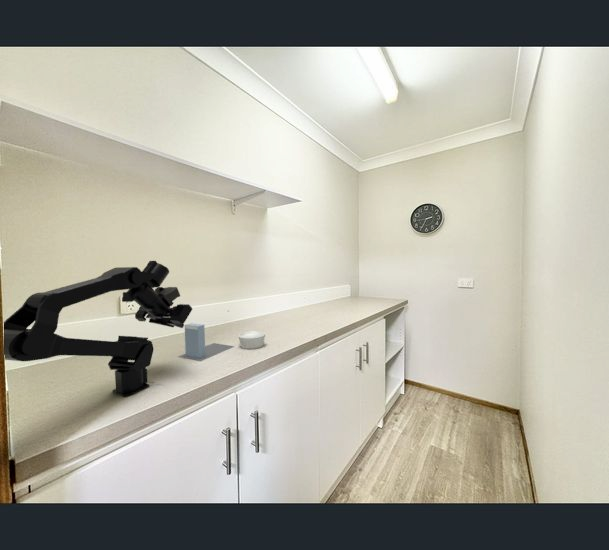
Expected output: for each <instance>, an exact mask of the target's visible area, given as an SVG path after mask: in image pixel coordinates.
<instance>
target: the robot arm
mask: <svg viewBox="0 0 609 550" xmlns="http://www.w3.org/2000/svg"><path fill="white" fill-rule="evenodd" d="M169 274H170V270H169V268H168V267H167V266H165V265H164V264H162V263H159V262H157V261H156V260H149V261H148V262H147V265H146V266H145V267H144V269H143V270H141V269H139V267H137V266H131V267H130V266H126V267H125V266H124V267H121V266H120V267H113V268H111V269H109V270H107V271H105V272H103V273H102V274H101V275H99V276H97V277H95V278H91V279H88V280H87V279H86V280H83V281H79V282H76V283H73V284H69V285H66V286H62V287H59V288H58V287H57V288H54V289H51V290H48V291H43V292H35V293H32V295H30V296H28V297H27V298H26V300H25V301H24V303H23V304H22V306H21V307H19V309H17V310H16V311H15V312H14V313H12V314H11V315H10V316H9V317H8V318H6V319H5V321H3V323H4V355H5V361H15V362H32V361H38V360H39V361H40V360H46V359H50V358H54V357H58V356H76V357H77V356H78V357H79V356H82V357H85V356H86V357H111V358H110V360H109V362H108V363H107V366H108V367H109V370H111V371H113V370H115V371H114V376H115V378H114V379H115V381H114V382H115V383H114V384H115V388H114V389H112V393H113V394H116V395H119V396H122V397H128V396H131V395H133V394H135V393H137V392H140V391H142V390H144V389H147V388H149V387H150V383H148V367H149V366H151V361H152V358H153V354H154V344H153V341H152V340H149V337H143V336H142V337H140V336H139V337H138V336H130V335H118V338H117V340H115V341H111V340H108V341H107V340H99V339H85V338H83V339H82V338H71V337H65V336H62V335H59V334H57V333H55V332H56V331H57V329H58V323H59V316H60V313H61V312H62V310H63V309H64V308H66V307H67V308H68V307H70V306H72V305H76V304H78V303H81V302H84V301H87V300H90V299H93V298H95V297H98V296H101V295H105V294H106V293H107V294H108V293H110V292H117V291H123V292H122V297H121V302H123V303H125V302H126V303H128V302H135V303H136V304H137V305H139V308H138V310H137V311H136V312H135V313H134V315H135V317H134V319H136V320H137V321H138V322H146V321H147V319H149V320H148V323H150V324H155V325H159V326H160V325H161V326H164V327H169V328H175V327H177V328H180V329H183V328H185V322H186V321H187V319H188V318H189V316H190V314H191V313H192V311H193V307H192V306H191V305H190V304H188V303H187V304H186V303H180V304H176V305H175V306H173V305H174V302H173V301H175V300H176V299H177V298H179V297H181V293H180V291H179V289H178V287H177V286H167V287H162V284H163V282H164V281H165V280H166V278H167V277H168V275H169ZM154 288H155V289H154ZM124 290H127V291H124ZM32 324H33V325H32ZM31 325H32V326H31ZM30 326H31V328H28V327H30ZM1 354H2V352H1Z"/></svg>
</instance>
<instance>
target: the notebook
mask: <svg viewBox="0 0 609 550" xmlns="http://www.w3.org/2000/svg"><path fill="white" fill-rule="evenodd" d="M205 330H206V329H205V324H201V323H193V322H191V323H186V324H184V342H185V345H184V346H185V347H184V348H185V349H184V350H185V354H186V356H187V357H192V358H197V359H200V358H202V357H205V346H206V334H205Z"/></svg>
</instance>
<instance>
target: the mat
mask: <svg viewBox="0 0 609 550" xmlns="http://www.w3.org/2000/svg"><path fill="white" fill-rule="evenodd" d="M232 348H235V345H227V344H224V343H223V344H222V343H216V342H215V343H214V342H213V343H211V344H207V345H205V357H202V358H200V359H197V358H192V357H187V356H186V353H183V354H181V355H179V356H177V358H182V359H186V360H192V361H197V362H203V361H204V360H207V359H210V358H211V357H214V356H217V355H219V354H220V353H221V354H222V353H224V352H225V351H228V350H230V349H232Z"/></svg>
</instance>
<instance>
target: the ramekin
mask: <svg viewBox="0 0 609 550" xmlns="http://www.w3.org/2000/svg"><path fill="white" fill-rule="evenodd" d="M265 337H266V333H265V332H263V331H255V330H254V331H252V330H251V331H246V332H242V333H240V334H238V340H239V345H240V347H241V348H242V349H244V350H254V349H260V348H262V347H263V346H264V343H265Z"/></svg>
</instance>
